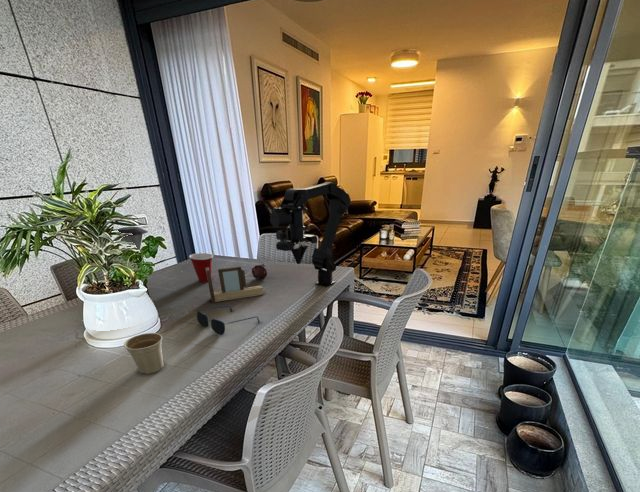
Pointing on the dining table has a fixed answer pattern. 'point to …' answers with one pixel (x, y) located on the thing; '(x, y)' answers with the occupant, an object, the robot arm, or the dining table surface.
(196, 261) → the plastic cup
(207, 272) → the wooden display stand
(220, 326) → the sunglasses
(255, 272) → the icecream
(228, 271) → the brown picture frame
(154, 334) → the flower pot
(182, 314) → the dining table surface
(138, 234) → the solar garden light
